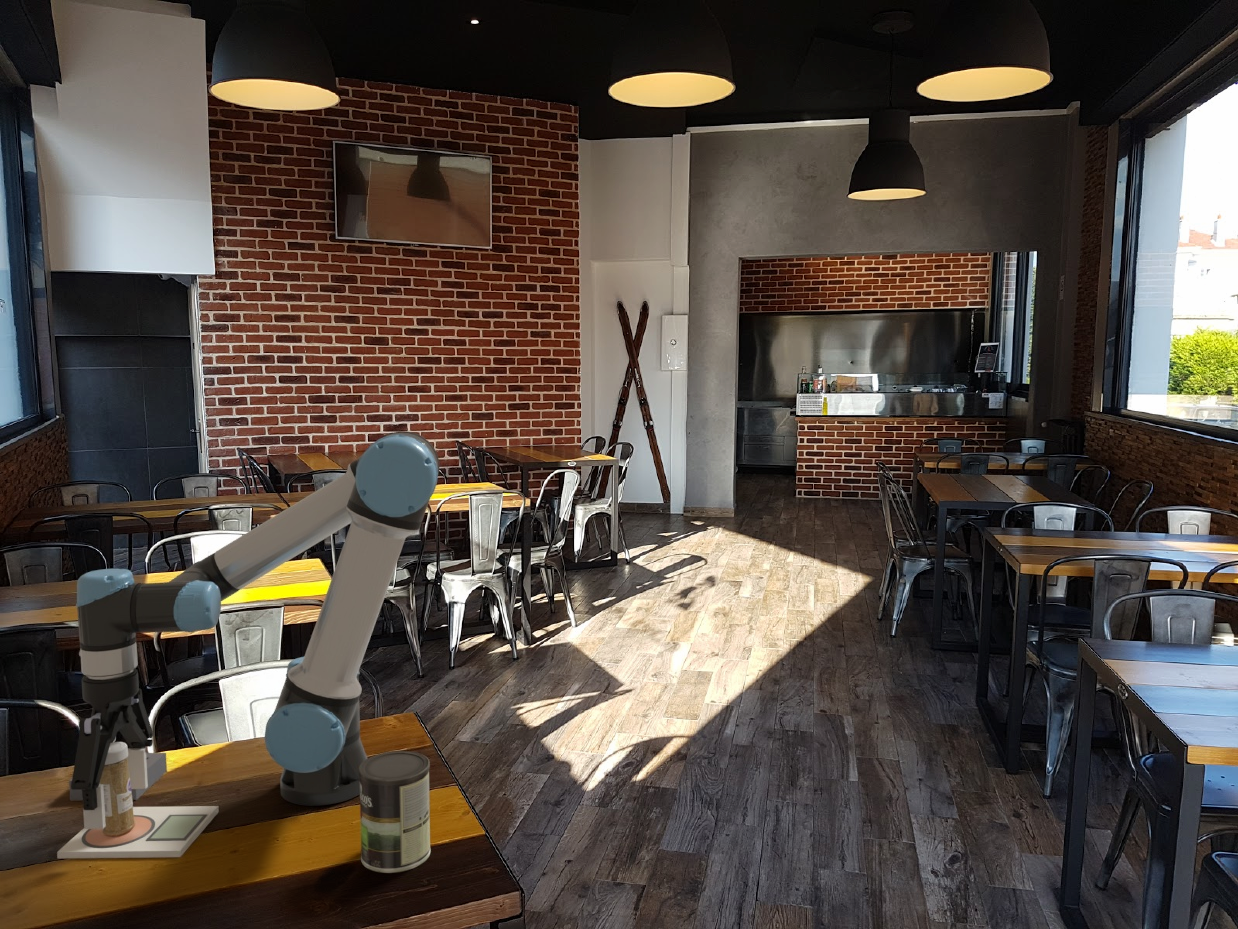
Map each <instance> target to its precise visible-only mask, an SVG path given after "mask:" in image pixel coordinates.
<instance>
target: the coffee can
mask: <svg viewBox="0 0 1238 929" xmlns="http://www.w3.org/2000/svg"><path fill="white" fill-rule="evenodd" d="M367 758H368V759H366V760H365V761H363V762H362V763H361V764H360V766H359V768H358V772H359V780H360V795H359V808H360V809H359V813H360V846H361V847H360V850H361V851H360V852H361V855H360V861H361V863H362V865H363V866H364V867H365V868H366V869H367V870H370V871H372V872H376V873H382V874H383V873H384V874H394V873H395V874H397V873H402V872H406V871H409V870H412V869H415V868H417V867H418V866H421V865H422V864H423V863H425V862H426V861H428V859H429V857H430V855H431V852H432V851H431V850H432V849H431V828H430V826H431V825H430V823H431V820H430V817H431V816H430V767H431V762H430V759H429V757H427V756H426V755H424V754H422V753H420V752H416V751H411V750H410V751H409V750H408V751H407V750H394V751H387V752H385V751H384V752H382V753H378V754H375V755H372V756H371V757H367Z"/></svg>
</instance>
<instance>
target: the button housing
mask: <svg viewBox="0 0 1238 929" xmlns="http://www.w3.org/2000/svg"><path fill="white" fill-rule="evenodd" d="M146 761H147V780H148V787H147V788H146V789H131V792H132V801H137V800H138V799H140V798H141V796H142V795H144V794H145V793H146V792H147V791H148V790H149V789H151V787H152V786H153V785H154V784H156V782H157V781H159V780H160V779H161V778H162V776H164V775H165V774H166V773H167V772H168V766H167V752H146ZM68 783H69V784H68V785H69V800H70V801H76V802H77V801H79V802H80V801H81V802H83V798H82V790H72V789H71V783H72V778H70V779H69V780H68Z"/></svg>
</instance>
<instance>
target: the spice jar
mask: <svg viewBox="0 0 1238 929" xmlns="http://www.w3.org/2000/svg"><path fill="white" fill-rule="evenodd" d="M128 749H129V748H128V743H127V742H123V741H112V742H111V743H110V747H109V750H108V754H107V758H106V761H105V765H104V769H103V772H102V776H101V780H100V783H99V784H103V789H104V806H105V823H106V827H104V828H103V833H104V834H105V835H107V836H116V835H121V834H124V833H126V832H128V831H130V830H132V829H133V828H134V826H135V820H134V815H133V807H134V806H133V805H134V804H133V801H134V800H132V792H131V783H130V778H129V769H128V760H127V759H128Z"/></svg>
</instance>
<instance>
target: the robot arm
mask: <svg viewBox="0 0 1238 929" xmlns="http://www.w3.org/2000/svg"><path fill="white" fill-rule="evenodd" d="M439 474H440V459H439V456H438V453H437V451H436V449H435V448H434V446H433V445H432V443H431V442H430V441H429V440H428V439H426V438H425V437H424V436H422V435H420V434H419V433H416V432H412V431H406V430H403V431H400V430H399V431H396V432H394V431H393V432H391V433H388V434H386V435H384V436H383V437H381V438H379V439H377V440H376V441H374V442H372V443H371V444H370V445H369V446H368V447H367V448H366V449H365V451H364V452H363V453H362V454H361V456H360V457H358V458H357V459H356V460H354V461H352V462H350V463H349V464H348V465H347V469H346V472H345V473H344V474H342V475H340V476H339V477H337V478H335V479H334V480H332V481H330V482H328V483H327V484H325V485H324V486H323V487H321V488H319V489H317V490H316V491H314V492H312V493H311V494H309V495H307V496H306V497H304V498H303V499H301V500H299V501H297V502H295V503H294V504H292V505H291V506H289V507H287V508H286V509H283V511H281V512H279V513H278V514H276V515H274V516H272V517H271V518H269V519H267V520H266V521H264V522H262V523H261V524H259V525H258V526H256V527H254V528H253V529H251V530H249V531H248V532H246V533H244V534H243V535H241V536H239V537H238V538H236V539H235V540H233V541H231V542H230V543H227V544H226V545H224V546H223V547H221V548H219V549H218V550H216V551H215V552H214V553H212V554H210V555H207V556H206V557H204V558H203V559H201V560H199V561H196V562H195V563H194V562H193V563H192V564H191V565H190V566H188V567H187V568H186V569H184V570H183V572H181V573H180V574H177V576H175V577H174V578H172V579H171V580H170V581H168V582H167V581H166V582H165V581H164V582H148V583H146V582H143V583H142V582H135V578H134V575H133V572H132V571H131V570H129V569H127V568H105V569H102V568H101V569H97V570H91V571H89V572H85V573H84V574H82V575H80V577H79V578H78V579H77V582H76V604H75V607H76V609H77V623H78V633H79V634H78V636H79V649H80V650H79V652H78V655H79V657H80V666H81V670H80V671H81V673H82V674H83V676H82V677H81V690H82V691H81V693H82V699H83V701H84V702H85V703H87V704H90V705H91V706H92V711H91V715H90V716H91V717H89V718H88V717H87V718H80V719H79V722H78V727H79V728H78V740H77V748H76V754H75V760H74V766H73V771H72V772H73V773H72V777H71V779H72V783H71V789H72V790H82V798H83V801H82V811H83V814H82V815H83V826H84V827H83V828H84V829H103V828H104V827H106V823H105V806H104V789H103V784H99V783H100V780H101V776H102V772H103V769H104V765H105V761H106V758H107V754H108V750H109V747H110V743H112V742H115V739H116V737H117V733H118V732H120V734H121V736H122V737H123V738H124V740H125V741H126V744H127V745H128V746H129V748H128V759H127V760H128V769H129V778H130V783H131V789H146V788H147V787H148V780H147V761H146V753H147V748H149V747H150V748H151V747H152V746H153V744H154V743H153V741H154V740H153V739H152V738H153V736H154V730H153V729H152V728H153V727H152V724H151V722H150V719H149V715H148V713H147V710H146V707H145V703H144V700H143V691H142V690H143V689H141V688H139V686H140V685H139V684H140V683H139V670H138V669H136V668H137V667H138V664H139V662H138V660H139V659H138V648H137V647H138V646H137V635H136V634H145V633H150V634H151V633H182V632H183V633H194V632H200V631H209V630H211V629H212V630H213V628H215V627H216V626H217V624H218V622H219V618H220V617H221V609H222V602H223V601H224V600H226V599H228V598H229V597H231V596H233V595H234V594H236V593H237V592H239V591H241V590H242V589H244V588H245V587H247V586H249V585H250V584H252V583H253V582H255V581H257V580H258V579H260V578H262V577H263V576H265V575H266V574H269V573H270V572H272V571H273V570H276V568H278V567H280V566H282V565H283V564H285V563H287V562H288V561H290V560H292V559H293V558H295V557H296V556H298V555H300V554H301V553H304V552H305V551H307V550H308V549H311V547H314V546H315V545H317V544H318V543H320V542H322V541H323V540H325V539H327V538H329V537H330V536H331V535H333V534H335V533H337V532H339V530H342V529H343V528H345V527H347V526H348V525H350V526H349V529H348V531H347V534H346V536H345V537H346V538H345V540H344V543H343V545H342V548H341V550H340V555H339V556H338V561H337V563H336V566H335V568H334V571H333V574H332V576H331V581H330V583H329V585H328V589H327V591H326V595H325V596H324V600H323V603H322V606H321V609H320V610H319V614H318V616H317V620H316V623H315V625H314V629H313V631H312V634H311V636H310V637H311V638H310V640H309V643H308V645H307V648H306V651H305V654H304V656H301V657H297V658H295V659H294V658H293V659H292V660H291V661H289V662H288V664H287V668H286V674H285V680H284V682H283V683H284V684H283V686H282V689H281V692H280V695H279V697H278V701H277V703H276V706H275V708H274V711H273V713H272V714H271V716H270V717H269V718H268V719H267V722H266V724H265V732H264V745H265V749H266V750H267V752H268V754H269V757H271V759H272V760H273V761H274V762H275V763H276V764H277V765H278V766H280V767H281V768H283V769H282V772H281V775H280V782H279V783H280V786H279V787H280V796H281V797H282V798H283V799H284V800H285V801H287V802H289V803H292V804H294V805H300V806H307V807H309V806H312V807H313V806H314V807H316V806H318V807H320V806H327V805H328V806H329V805H333V804H337V803H342V802H345V801H348V800H351V799H354V798H355V797H357V796H360V780H359V772H358V768H359V766H360V764H361V763H362V762H363V761H365V760H366V759H368V758H369V757H368V755H367V753H366V751H365V749H364V745H363V743H362V739H361V730H360V728H361V724H360V723H361V722H360V721H361V720H360V698H361V697H360V696H361V694H362V685H361V683H360V682H359V675H360V668H361V665H362V662H363V659H364V657H365V654H366V650H367V648H368V645H369V642H370V640H371V636H372V634H373V631H374V628H375V626H376V622H377V620H378V617H379V614H380V612H381V609H382V607H383V603H384V600H385V598H386V596H387V591H388V589H389V586H390V583H391V580H392V577H393V574H394V573H395V570H396V566H397V565H398V564H397V563H398V560H399V558H400V555H401V552H402V550H403V546H404V544H405V541H406V538H408V537H409V536H411V535H413V534H415V533H417V532H419V530H420V528H421V525H422V522H423V520H424V517H425V514H426V511H427V508H428V507H429V506H428V505H429V503H430V501H431V497H432V496H433V495H434V492H435V489H436V487H437V483H438V477H439ZM146 747H147V748H146Z"/></svg>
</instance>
